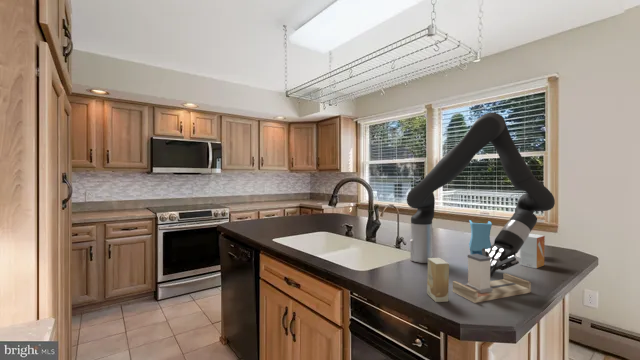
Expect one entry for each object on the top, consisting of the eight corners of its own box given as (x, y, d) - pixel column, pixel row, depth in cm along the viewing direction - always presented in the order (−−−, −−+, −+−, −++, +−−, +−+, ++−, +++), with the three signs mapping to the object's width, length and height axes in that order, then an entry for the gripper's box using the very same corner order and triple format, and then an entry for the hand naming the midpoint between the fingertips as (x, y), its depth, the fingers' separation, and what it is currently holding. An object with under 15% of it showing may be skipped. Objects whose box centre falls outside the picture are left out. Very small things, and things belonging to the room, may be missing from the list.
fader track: (474, 302, 89) (474, 291, 89) (452, 291, 98) (452, 281, 98) (530, 292, 97) (530, 281, 97) (505, 282, 105) (505, 273, 105)
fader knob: (480, 293, 92) (480, 259, 92) (465, 286, 98) (465, 254, 97) (492, 291, 93) (492, 258, 93) (477, 284, 99) (477, 253, 99)
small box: (537, 269, 120) (537, 237, 120) (519, 265, 125) (519, 235, 125) (544, 265, 124) (545, 235, 124) (527, 261, 130) (528, 233, 130)
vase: (490, 269, 121) (490, 221, 120) (492, 275, 113) (492, 224, 113) (469, 266, 124) (469, 220, 124) (470, 272, 117) (470, 223, 116)
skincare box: (426, 294, 96) (426, 257, 96) (439, 293, 96) (439, 257, 96) (436, 302, 90) (436, 263, 89) (449, 302, 90) (449, 263, 90)
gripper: (537, 247, 94) (509, 290, 91) (500, 239, 107) (475, 276, 103) (525, 233, 93) (496, 275, 89) (489, 226, 105) (463, 263, 101)
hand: (485, 276), depth 96 cm, fingers closed
